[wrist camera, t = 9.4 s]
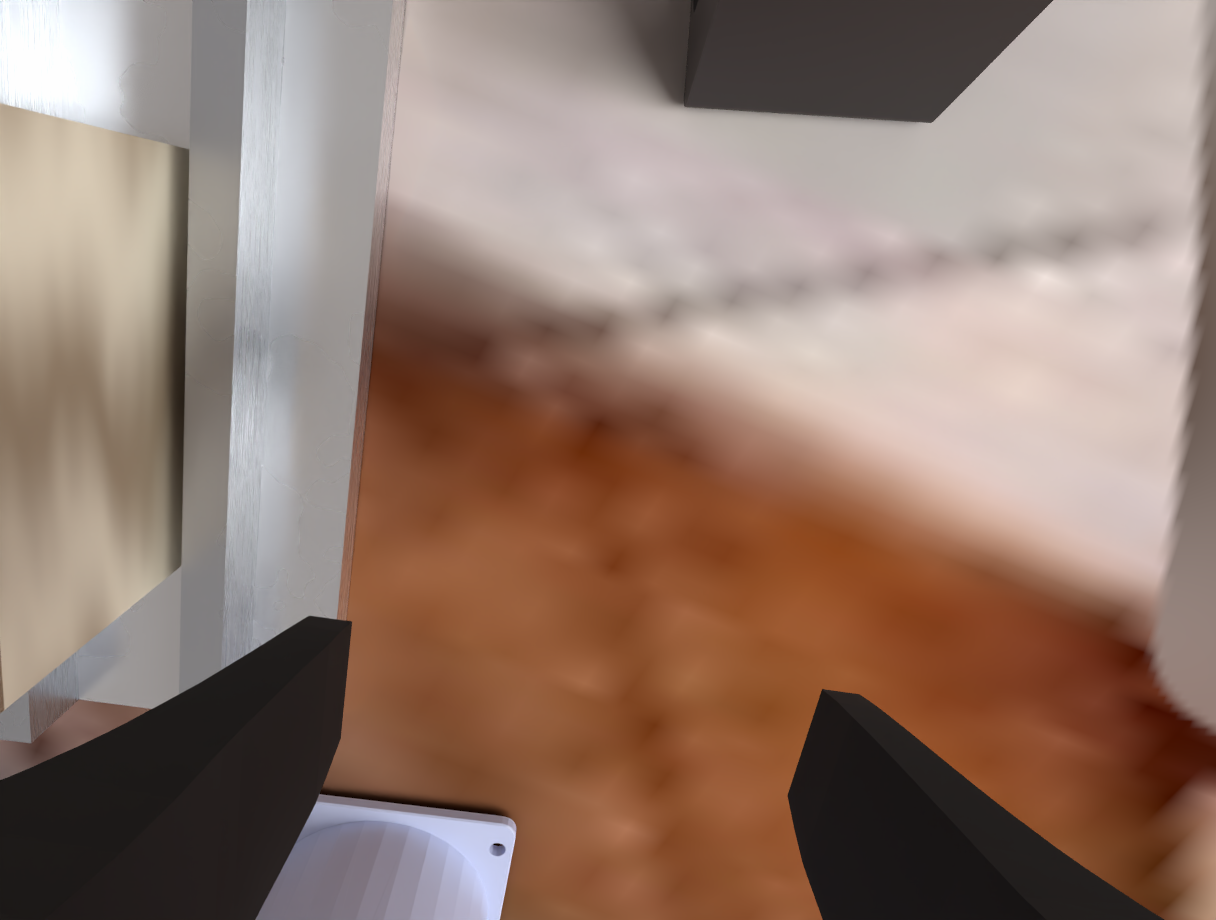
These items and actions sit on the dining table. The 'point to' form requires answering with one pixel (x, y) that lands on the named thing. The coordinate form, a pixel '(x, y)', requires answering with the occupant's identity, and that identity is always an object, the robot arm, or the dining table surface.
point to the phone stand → (846, 54)
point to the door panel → (86, 382)
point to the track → (238, 302)
